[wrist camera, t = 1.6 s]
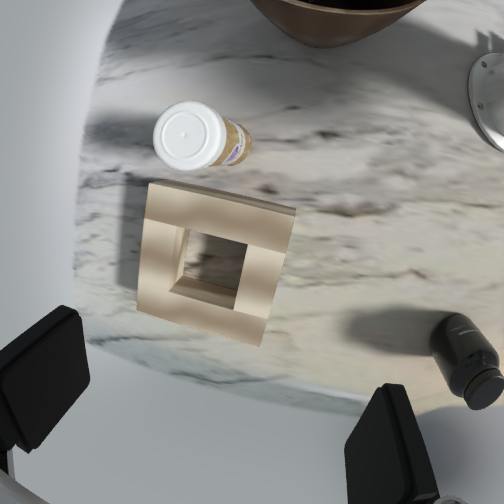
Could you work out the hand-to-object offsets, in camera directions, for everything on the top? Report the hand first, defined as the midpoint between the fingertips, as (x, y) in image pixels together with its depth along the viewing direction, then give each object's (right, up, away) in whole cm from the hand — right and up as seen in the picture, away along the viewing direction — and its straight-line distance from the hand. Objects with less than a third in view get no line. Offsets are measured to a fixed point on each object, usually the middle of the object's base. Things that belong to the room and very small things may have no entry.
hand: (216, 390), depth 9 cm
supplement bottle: (+27, -7, +25) cm, 37 cm away
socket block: (-3, +4, +26) cm, 26 cm away
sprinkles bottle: (-1, +15, +22) cm, 27 cm away
